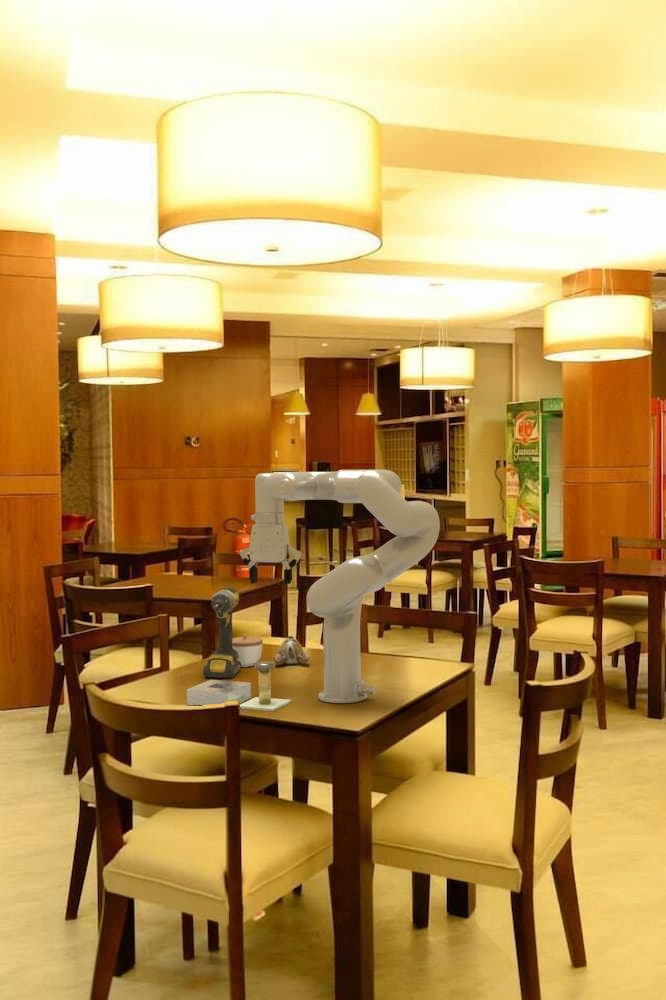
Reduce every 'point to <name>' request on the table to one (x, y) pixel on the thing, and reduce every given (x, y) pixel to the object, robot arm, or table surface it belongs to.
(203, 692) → the plate
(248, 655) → the lidded jar
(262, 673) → the metal bolt
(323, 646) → the robot arm
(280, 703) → the mat
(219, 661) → the cordless drill
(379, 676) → the table surface
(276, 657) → the ceramic sculpture
